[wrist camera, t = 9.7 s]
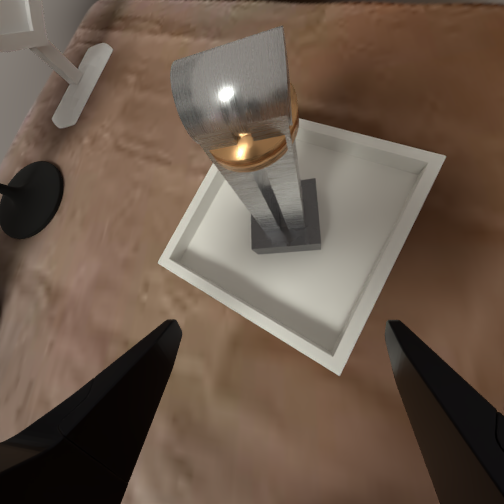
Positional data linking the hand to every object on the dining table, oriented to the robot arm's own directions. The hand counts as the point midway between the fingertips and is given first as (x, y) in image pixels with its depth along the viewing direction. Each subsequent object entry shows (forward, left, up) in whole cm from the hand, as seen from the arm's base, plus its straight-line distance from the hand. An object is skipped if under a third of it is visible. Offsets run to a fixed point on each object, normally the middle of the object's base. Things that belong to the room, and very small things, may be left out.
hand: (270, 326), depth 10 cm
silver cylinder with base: (+4, -6, -8) cm, 11 cm away
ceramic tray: (+4, -6, -9) cm, 11 cm away
